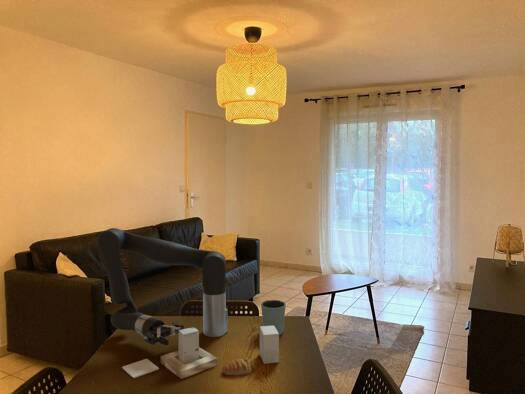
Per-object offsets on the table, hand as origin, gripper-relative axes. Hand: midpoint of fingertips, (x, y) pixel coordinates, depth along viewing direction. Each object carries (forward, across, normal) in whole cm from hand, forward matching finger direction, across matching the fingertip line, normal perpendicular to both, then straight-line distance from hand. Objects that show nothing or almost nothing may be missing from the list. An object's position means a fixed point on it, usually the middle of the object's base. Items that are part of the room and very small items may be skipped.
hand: (177, 338), depth 144 cm
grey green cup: (+12, +41, +8) cm, 43 cm away
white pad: (-4, -12, +8) cm, 15 cm away
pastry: (+22, +7, +8) cm, 25 cm away
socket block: (+6, 0, +8) cm, 10 cm away
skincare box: (+6, 0, +8) cm, 10 cm away
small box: (+25, +21, +8) cm, 33 cm away
